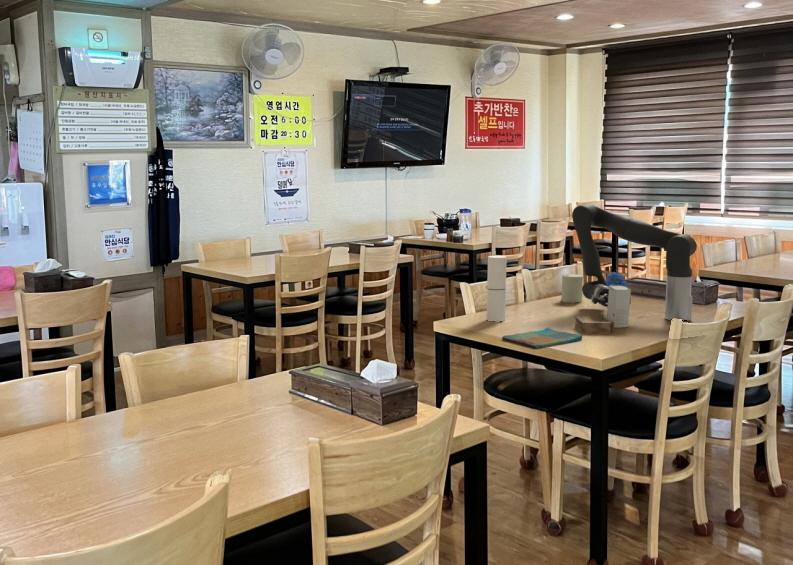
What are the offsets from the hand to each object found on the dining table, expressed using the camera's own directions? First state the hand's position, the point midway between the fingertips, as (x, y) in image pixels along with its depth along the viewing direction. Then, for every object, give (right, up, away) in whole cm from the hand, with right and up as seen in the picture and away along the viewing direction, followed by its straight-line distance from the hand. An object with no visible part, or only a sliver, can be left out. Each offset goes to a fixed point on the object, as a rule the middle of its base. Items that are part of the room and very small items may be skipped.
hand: (615, 302), depth 303 cm
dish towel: (-33, -13, -27) cm, 45 cm away
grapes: (+15, 0, +57) cm, 59 cm away
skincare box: (0, -9, -2) cm, 9 cm away
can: (-6, -1, +50) cm, 50 cm away
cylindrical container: (-45, -7, +7) cm, 46 cm away
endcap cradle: (-11, -10, -10) cm, 18 cm away
